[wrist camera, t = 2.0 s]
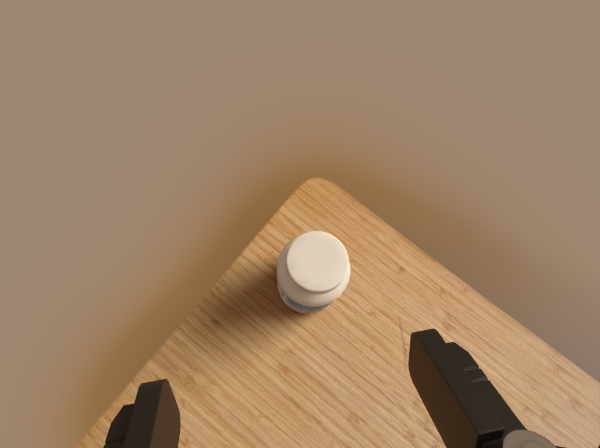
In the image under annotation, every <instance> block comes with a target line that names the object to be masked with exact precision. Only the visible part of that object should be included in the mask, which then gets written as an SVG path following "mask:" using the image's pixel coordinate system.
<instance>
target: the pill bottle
mask: <svg viewBox="0 0 600 448" xmlns="http://www.w3.org/2000/svg"><path fill="white" fill-rule="evenodd" d="M349 278H350V263H349V259H348V255H347V252H346V249H345V247H344V246H343V244H342V243H341V242H340V241H339V240H338V239H337V238H336V237H334V236H333V235H331V234H329V233H326V232H322V231H311V232H307V233H304V234H302V235H300V236H298V237H296V238H295V239H293V240H292V241H290V242H289V243H288V244H287V245H286V246H285V247H284V249H283V250H282V252H281V254H280V256H279V259H278V262H277V286H278V291H279V294H280V297H281V299H282V300H283V302H284V303H285V304H286V305H287V306H288V307H289V308H291V309H292V310H294V311H296V312H299V313H304V314H310V313H316V312H318V311H321V310H322V309H324V308H325V307H327V306H328V305H329V304H331V303H332V302H333V301H335V300H336V299H337V298H338V297H339V296H340V295H341V294H342V293H343V291H344V290H345V288H346V286H347V284H348V281H349Z"/></svg>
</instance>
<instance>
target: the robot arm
mask: <svg viewBox="0 0 600 448" xmlns="http://www.w3.org/2000/svg"><path fill="white" fill-rule="evenodd" d="M409 372H410V376H411V379H412V381H413V384H414V386H415V388H416V389H417V391H418V393H419V395H420V397H421V399H422V401H423V403H424V405H425V407H426V409H427V411H428V413H429V415H430V416H431V418H432V420H433V422H434V424H435V426H436V428H437V430H438V432H439V434H440V436H441V438H442V440H443V442H444V443H445V445H446V447H447V448H564V447H558V446H555V445H554V444H552V443H551V442H550V441H549V440H547V439H546V438H545V437H543V436H541V435H539V434H537V433H535V432H532V431H528V430H527V429H526V428H525V427H524V426H523V425H522V423H521V422H520V421H519V420H518V418H517V417H516V415H515V414H514V413H513V411H512V410H511V409H510V407H509V406H508V405H507V403H506V402H505V401H504V399H503V398H502V397H501V395H500V394H499V393H498V391H497V390H496V389H495V387H494V386H493V385H492V383H491V382H490V381H488V379H487V377H486V375H485V374H484V373H483V371H482V370H481V369H479V366H478V364H477V363H476V362H475V360H474V359H473V358H472V356H471V355H470V354H469V352H467V351H466V350H464V349H463V348H462V347H460V346H459V345H458V344H456V343H455V342H451V343H445V341H444V340H443V338H442V337H441V335H440V334H439V333H438V331H437V330H435V329H429V330H423V331H418V332H413V333H412V334H411V339H410V351H409ZM179 435H180V413H179V409H178V406H177V403H176V400H175V398H174V395H173V392H172V389H171V387H170V384H169V381H168V380H167V379H163V380H158V381H153V382H147V383H142V384H141V385H140V386H139V389H138V392H137V396H136V400H135V403H134V404H130V405H124V406H123V407H122V409H121V410H120V411H119V413H118V414H117V416H116V417H115V418H114V420H113V421H112V423H111V425H110V429H109V432H108V435H107V438H106V441H105V442H106V444H105V445H104V447H103V448H178V443H179ZM598 448H600V445H599V447H598Z"/></svg>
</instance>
